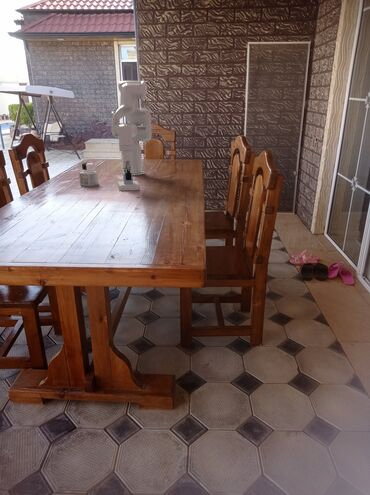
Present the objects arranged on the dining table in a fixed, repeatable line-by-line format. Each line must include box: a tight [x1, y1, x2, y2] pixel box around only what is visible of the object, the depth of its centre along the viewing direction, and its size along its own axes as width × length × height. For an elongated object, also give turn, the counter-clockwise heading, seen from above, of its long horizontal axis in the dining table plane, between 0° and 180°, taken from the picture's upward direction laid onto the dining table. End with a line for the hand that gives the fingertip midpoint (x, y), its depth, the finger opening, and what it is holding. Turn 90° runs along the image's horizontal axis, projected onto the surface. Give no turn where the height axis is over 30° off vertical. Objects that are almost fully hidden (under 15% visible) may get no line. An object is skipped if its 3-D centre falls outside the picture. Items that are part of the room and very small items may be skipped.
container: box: [78, 162, 99, 187], centre depth 222 cm, size 8×8×13 cm
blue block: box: [122, 171, 134, 184], centre depth 214 cm, size 5×5×6 cm
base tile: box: [117, 180, 140, 192], centre depth 215 cm, size 11×11×3 cm
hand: (127, 178), depth 214 cm, fingers open, 9 cm apart
